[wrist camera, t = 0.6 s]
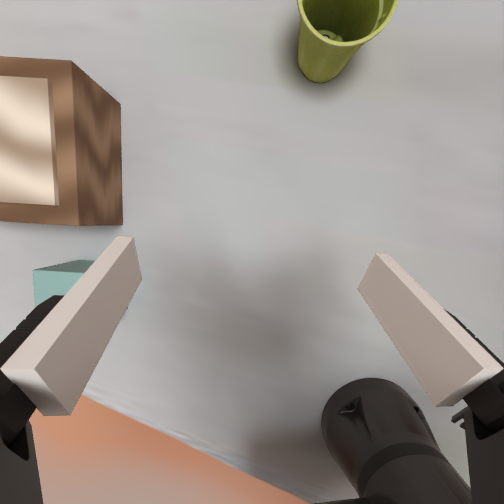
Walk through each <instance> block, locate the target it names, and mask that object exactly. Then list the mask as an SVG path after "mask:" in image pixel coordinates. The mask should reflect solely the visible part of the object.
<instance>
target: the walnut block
mask: <svg viewBox="0 0 504 504" xmlns="http://www.w3.org/2000/svg"><path fill="white" fill-rule="evenodd" d="M0 221H7V222H23V223H40V224H57V225H74V226H93V225H123V217H122V166H121V116H120V103H119V102H117V101H116V100H115V99H114V98H113V97H112V96H111V95H110V94H108V93H107V92H106V91H105V90H104V89H103V88H102V87H100V86H99V85H98V84H97V83H96V82H95V81H94V80H93V79H91V78H90V77H89V76H88V75H87V74H86V73H85V72H84V71H82V70H81V69H80V68H79V67H78V66H77V65H76V64H74V63H73V62H72V61H69V60H53V59H36V58H20V57H3V56H0Z"/></svg>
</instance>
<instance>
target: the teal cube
mask: <svg viewBox="0 0 504 504" xmlns="http://www.w3.org/2000/svg"><path fill="white" fill-rule="evenodd" d="M94 262H95V261H89V260H77V261H72V262H67V263H63V264H58V265H54V266H49V267H44V268H40V269H35V270H33V283H34V296H35V308H36V307H37V305H39V304H40V303H42V302H44V301H45V300H47V299H48V298H50V297H51V296H53V295H66V294H67V292H68V291H69V290H70V289H71V288H72V287H73V286H74V284H75V283H76V282H77V281H78V280H79V279H80V278H81V277H82V275H83V274H84V273H85V272H86V271H87V270H88V269H89V267H90V266H91V265H92V264H93V263H94ZM126 309H128V307H127V308H126Z"/></svg>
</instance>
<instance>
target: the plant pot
mask: <svg viewBox="0 0 504 504" xmlns="http://www.w3.org/2000/svg"><path fill="white" fill-rule="evenodd" d="M397 3H398V0H297V4H298V9H299V13H300V33H299V45H298V64H299V67H300V69H301V70H302V72H303V73H304V74H305V76H306V77H307V78H308V79H309V80H311V81H314V82H327V81H329V80H331V79H333V78H334V77H335V76H336V75H338V74H339V72H340V71H341V70H342V69H343V68H344V66H345V65H346V64H347V63H348V61H349V60H350V59H351V58H352V56H353V55H354V54H355V53H356V51H357V50H358V49H359V48H360V47H361V46H362V45H363V44H364V43H366V42H368V41H369V40H371V39H372V38H374V37H375V36H376V35H377V34H379V33H380V32H381V31H382V29H383V28H384V27H385V26H386V25H387V23H388V22H389V20H390V19H391V17H392V15H393V13H394V11H395V9H396V6H397ZM322 35H328V36H329V39H328V38H326V37H324V36H322Z"/></svg>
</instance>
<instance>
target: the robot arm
mask: <svg viewBox="0 0 504 504" xmlns="http://www.w3.org/2000/svg"><path fill="white" fill-rule="evenodd" d="M141 280H142V277H141V272H140V267H139V262H138V257H137V252H136V247H135V242H134V237H124V236H117V237H116V238H115V239H114V240H113V241H112V243H111V244H110V245H109V246H108V247H107V248H106V249H105V250H104V252H103V253H102V254H101V255H100V256H99V257H98V258H97V260H96V261H95V262H94V263H93V264H92V265H91V266H90V267H89V269H88V270H87V271H86V272H85V273H84V274H83V275H82V277H81V278H80V279H79V280H78V281H77V282H76V283H75V284H74V286H73V287H72V288H71V289H70V290H69V291H68V292H67V294H66V295H53V296H51V297H50V298H48V299H47V300H45V301H44V302H42V303H40V304H39V305H37V307H36V308H35V309H34V310H33V311H32V312H31V313H30V314H29V315H28V316H27V317H26V319H25V320H23V321H22V322H21V323H20V324H19V325H18V326H17V327H16V330H13V331H12V332H11V333H10V334H9V335H8V336H7V337H6V338H5V339H4V340H3V341H2V342H1V343H0V504H43V498H42V492H41V485H40V479H39V472H38V466H37V459H36V453H35V446H34V440H33V434H32V426H31V424H30V422H29V418H30V417H31V415H32V414H33V412H34V411H35V409H36V408H37V409H38V410H39V411H40V412H41V413H42V414H43V415H44V416H59V415H60V416H61V415H70V414H71V413H72V411H73V409H74V407H75V405H76V403H77V401H78V399H79V398H80V396H81V394H82V392H83V390H84V388H85V386H86V384H87V383H88V381H89V379H90V377H91V375H92V373H93V371H94V369H95V367H96V365H97V364H98V362H99V360H100V358H101V356H102V354H103V352H104V350H105V348H106V346H107V345H108V343H109V341H110V339H111V337H112V335H113V333H114V331H115V329H116V327H117V326H118V324H119V322H120V320H121V318H122V316H123V314H124V312H125V310H126V308H127V307H128V305H129V303H130V301H131V299H132V297H133V295H134V293H135V291H136V289H137V288H138V286H139V284H140V282H141ZM357 289H358V291H359V292H360V294H361V295H362V297H363V298H364V300H365V301H366V303H367V304H368V306H369V307H370V309H371V310H372V312H373V313H374V315H375V316H376V318H377V319H378V321H379V322H380V324H381V325H382V327H383V328H384V330H385V331H386V333H387V335H388V336H389V338H390V339H391V341H392V342H393V344H394V345H395V347H396V348H397V350H398V351H399V353H400V354H401V356H402V357H403V359H404V360H405V362H406V363H407V365H408V366H409V368H410V369H411V371H412V372H413V374H414V375H415V377H416V378H417V380H418V381H419V383H420V384H421V386H422V387H423V389H424V391H425V392H426V394H427V395H428V397H429V398H430V400H431V401H432V403H433V404H434V406H435V407H437V406H453V405H455V404H456V403H457V402H459V401H460V400H461V399H463V400H464V401H465V402H466V403H467V405H468V406H467V407H466V408H464V409H463V410H461V411H460V412H458V413H457V414H455V415H454V416H452V420H451V421H452V422H453V423H456V422H457V421H459V420H460V419H462V418H463V419H464V422H463V423H462V424H460V427H461V428H463V429H465V434H466V444H467V455H468V465H469V475H470V486H471V488H470V487H469V486H468V485H467V484H466V482H465V481H464V480H463V479H462V478H461V476H460V475H459V474H458V473H457V471H456V470H455V469H454V468H453V467H452V465H451V464H450V463H449V462H448V460H447V459H446V458H445V457H444V455H443V454H442V453H441V451H440V449H439V447H438V444H437V442H436V440H435V438H434V436H433V434H432V432H431V429H430V427H429V425H428V423H427V421H426V419H425V417H424V415H423V413H422V411H421V409H420V408H419V406H418V405H417V404H416V402H415V401H414V400H413V399H412V398H411V397H410V396H409V395H408V393H407V392H406V391H405V390H403V389H402V388H401V387H400V386H398V385H396V384H394V383H392V382H390V381H386V380H382V379H362V380H358V381H355V382H352V383H350V384H348V385H346V386H344V387H342V388H341V389H340V390H338V391H337V392H336V393H335V394H334V395H333V396H332V397H331V399H330V400H329V401H328V403H327V405H326V407H325V409H324V412H323V416H322V430H323V434H324V437H325V440H326V443H327V446H328V449H329V451H330V453H331V455H332V456H333V458H334V459H335V461H336V462H337V463H338V465H339V466H340V468H341V469H342V471H343V472H344V474H345V475H346V477H347V478H348V480H349V481H350V482H351V484H352V485H353V487H354V488H355V490H356V491H357V493H358V495H359V498H358V499H347V500H339V501H331V502H323V503H315V504H504V363H503V362H502V361H501V360H500V359H499V358H498V357H496V356H495V355H494V354H493V353H492V352H491V351H490V350H489V349H488V348H487V347H486V346H485V345H484V344H483V343H482V342H481V341H480V340H479V339H478V338H475V335H474V334H473V333H472V332H471V331H470V330H469V329H466V327H465V326H464V325H463V324H462V323H461V322H460V321H459V320H458V319H457V318H456V317H455V316H453V315H452V314H450V313H449V312H448V311H446V310H445V309H443V308H442V307H441V306H440V305H439V304H438V303H437V302H436V301H435V300H434V299H433V298H432V297H431V296H430V295H429V294H428V293H427V292H426V291H425V290H424V289H423V288H422V287H421V286H420V285H419V284H418V283H417V282H416V281H415V280H414V279H413V278H412V277H411V276H410V275H409V274H408V273H407V272H405V271H404V270H403V269H402V268H401V267H400V266H399V265H398V264H397V263H396V262H395V261H394V260H393V259H392V258H391V257H390V256H389V255H388V254H378V253H376V254H375V256H374V257H373V259H372V261H371V263H370V265H369V267H368V269H367V271H366V273H365V275H364V277H363V279H362V281H361V283H360V285H359V287H358V288H357Z"/></svg>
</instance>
